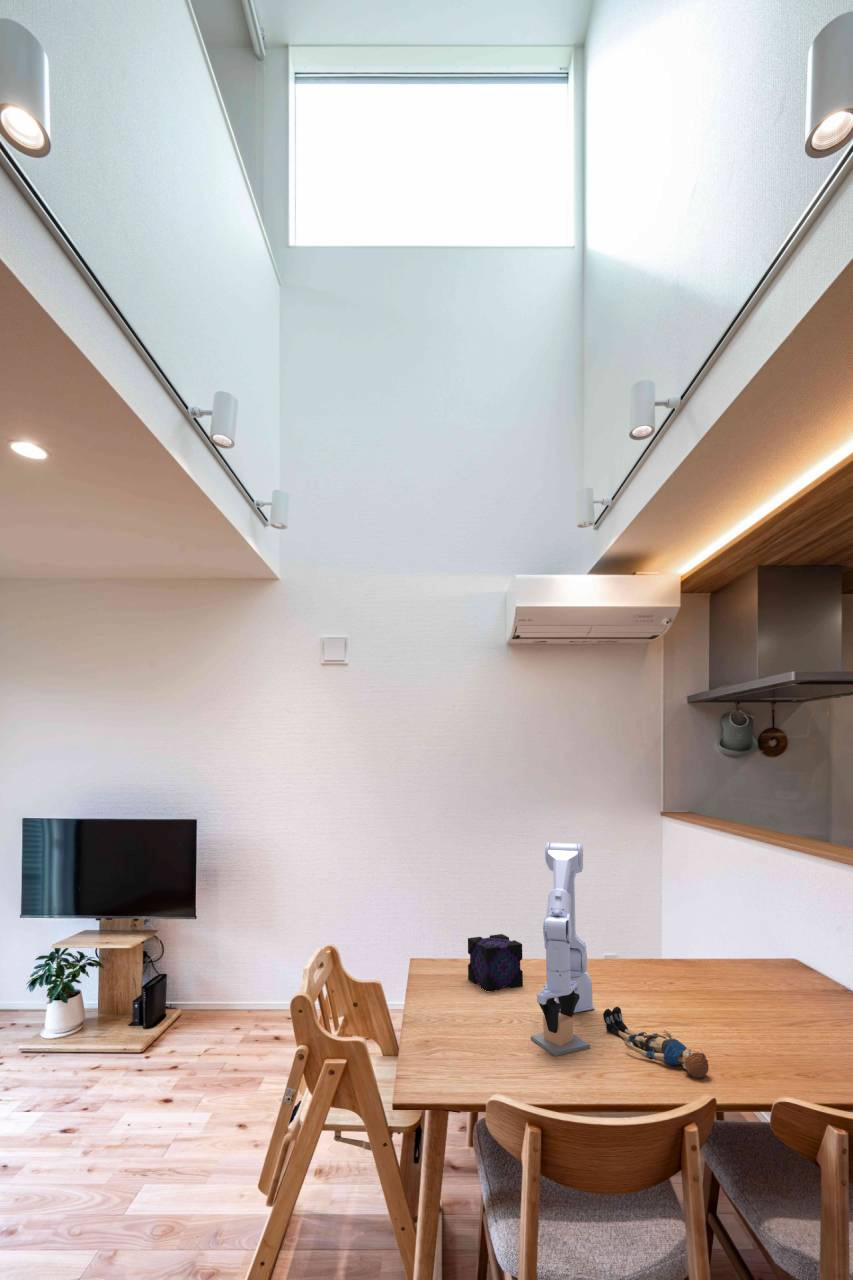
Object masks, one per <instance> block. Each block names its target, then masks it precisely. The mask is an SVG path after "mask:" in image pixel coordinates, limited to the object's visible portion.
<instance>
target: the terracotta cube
mask: <svg viewBox="0 0 853 1280" xmlns="http://www.w3.org/2000/svg"><path fill="white" fill-rule="evenodd" d="M573 1017H574V1016H573ZM573 1017H570V1016H567V1015H564V1014H561V1012H559V1016H558V1029H557V1033H553V1032H550V1031H548V1027H547V1023H546V1019H545V1016H543V1017H542V1021H543V1022H542V1025H543V1033H544V1040H546V1041H549V1042H552V1043H554V1044H557V1045H560V1046H562V1045H564V1044H566V1043H568V1042H570V1041H572V1040H573V1034H574V1018H573Z"/></svg>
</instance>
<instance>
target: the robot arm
mask: <svg viewBox="0 0 853 1280" xmlns="http://www.w3.org/2000/svg"><path fill="white" fill-rule="evenodd" d="M544 850H545V851H544V855H545V857H544V859H545V864H546V866H547V867H548V869H549V871H552V872H553V873H552V875H553V889H552V890H551V891H550V892H549V893H548V898H547V906H546V907H547V908H546V917H544V918H543V921H542V924H543V925H542V934H543V940H544V949H545V964H546V965H545V967H546V969H545V970H546V973H545V975H546V982H545V983H543V989H542V990H541V991H540V992H539V993H537V994H536V1003H537V1004H538V1005H539V1006H540V1009H541V1010H542V1013H543V1017H545V1019H546V1023H547V1027H548V1031H550V1032H553V1033H557V1029H558V1016H559V1013H561V1014H564V1015H567V1016H570V1017H574V1014H576V1013H580V1012H586V1011H591V1010H594V1009H595V1008H596V1007H595V1006H594V1004H593V982H592V979H591V976H590V975H589V973H588V972H587V971H588V953H587V944H586V942H585V941H584V940H583V939H582V938H581V937H580V936H578V935H577V933H576V930H577V929H576V897H575V896H576V894H575V893H576V891H575V889H576V888H575V886H576V885H575V881H576V880H575V878H576V876H577V874H579V873H582V872H583V869H584V849H583V845H582V844H581V843H580V842H578V843H575V842H574V843H572V842H571V843H569V842H550V841H548V842H547V843H546V844H545V849H544Z"/></svg>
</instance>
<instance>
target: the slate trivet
mask: <svg viewBox="0 0 853 1280" xmlns="http://www.w3.org/2000/svg"><path fill="white" fill-rule="evenodd" d="M530 1040H531V1041H532V1042H534V1043H535V1044H536V1045H538V1046H540V1047H541V1048H543V1049H544V1050H546V1051H547V1052H548V1053H550V1054H551V1055H553V1056H555V1057H557V1056H560V1055H565V1054H570V1053H575V1052H579V1051H582V1050H583V1051H585V1050H588V1049H591V1044H590V1043H589V1042H587V1041H585V1040H583V1039H582V1038H580V1037H578V1036H577V1035H576V1034H574V1033H573V1040H572V1041H570V1042H568V1043H566V1044H564V1045H562V1046H560V1045H557V1044H554V1043H552V1042H549V1041H546V1040H544V1032H543V1033H538V1034H534V1035H530Z"/></svg>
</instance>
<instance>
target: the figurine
mask: <svg viewBox="0 0 853 1280" xmlns="http://www.w3.org/2000/svg"><path fill="white" fill-rule="evenodd" d="M602 1015H603V1016H602V1017H603V1022H604V1023H605V1027H606V1028H605V1030H606V1032H609V1033H613V1034H615V1035H617V1036H619V1037H621V1038H622V1039H623V1040H624V1041H623V1042H624V1045H625V1047H626V1048H627V1049H629V1050H631V1051H634V1052H636V1053H638V1054H640V1055H642V1056H644V1057H645V1058H647V1059H648V1060H659V1061H663V1062H665V1063H666V1064H667V1065H669V1066H678V1067H679V1068H680V1069H682V1070H686V1072H688V1074H689V1075H690V1076H692V1077H693V1078H696V1079H699V1078H700V1079H702V1078H704V1077H706V1076H707V1073H708V1072H709V1060H708V1059H707V1057H706V1054H705V1053H704V1052H699V1051H696V1050H695V1051H694V1050H692V1049H691V1048H687V1046H685V1045H684V1044H683V1042H681V1041H679V1040H678V1039H676V1038H675V1037H674V1035H672V1033H671V1032H670V1031H668V1030H666V1029H664V1030H663V1031H662V1035H661V1034H659V1033H657V1032H655V1033H647V1032H646V1031H641V1032H635V1031H634V1030H630V1029H629V1028H628V1027H627V1025H626V1024H625V1022H624V1021H623V1020H624V1019H623V1013H622V1009H621V1008H620V1006H614V1007H613V1008H612V1010H611V1009H610V1008H606V1009H605V1010H604V1012H602ZM667 1038H668V1039H667ZM635 1045H638V1046H640V1047H636V1046H635Z"/></svg>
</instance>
